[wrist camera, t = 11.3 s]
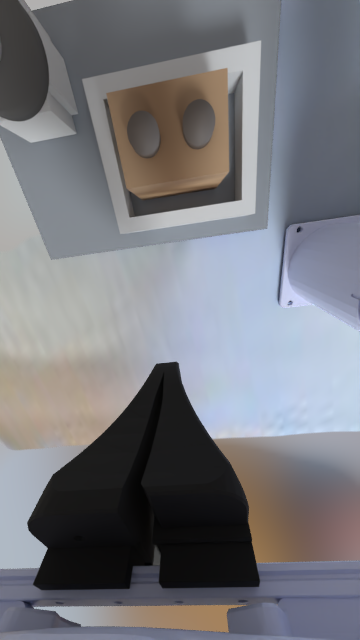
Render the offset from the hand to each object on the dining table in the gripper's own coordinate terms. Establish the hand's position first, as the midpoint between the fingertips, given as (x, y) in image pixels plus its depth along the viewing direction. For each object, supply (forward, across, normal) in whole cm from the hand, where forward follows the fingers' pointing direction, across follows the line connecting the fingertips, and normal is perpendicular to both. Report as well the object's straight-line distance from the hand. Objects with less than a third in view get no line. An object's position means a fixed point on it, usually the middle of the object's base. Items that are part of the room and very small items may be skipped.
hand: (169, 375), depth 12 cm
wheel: (+9, +7, -17) cm, 21 cm away
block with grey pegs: (+9, -2, -12) cm, 16 cm away
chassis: (+10, +1, -14) cm, 17 cm away
